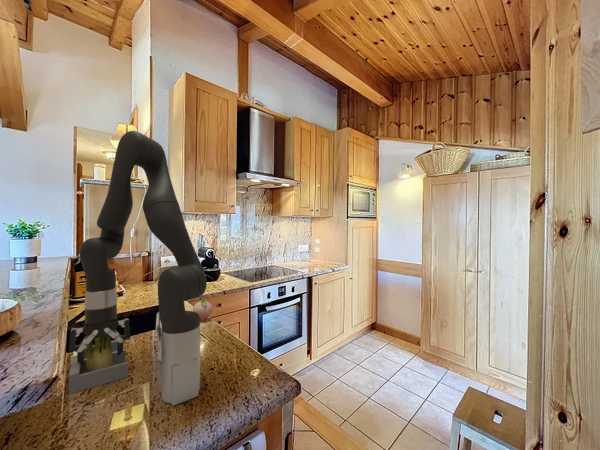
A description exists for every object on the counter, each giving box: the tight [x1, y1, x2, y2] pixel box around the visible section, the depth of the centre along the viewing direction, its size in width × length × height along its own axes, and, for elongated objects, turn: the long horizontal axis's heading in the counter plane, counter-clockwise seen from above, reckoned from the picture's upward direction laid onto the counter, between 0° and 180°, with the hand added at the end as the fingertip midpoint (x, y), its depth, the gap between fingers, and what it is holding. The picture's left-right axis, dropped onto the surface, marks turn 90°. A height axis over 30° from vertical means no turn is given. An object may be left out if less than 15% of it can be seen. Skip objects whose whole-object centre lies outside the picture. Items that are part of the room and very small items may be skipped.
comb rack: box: [68, 339, 129, 395], centre depth 80 cm, size 21×13×5 cm, turn 38°
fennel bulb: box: [86, 336, 113, 372], centre depth 76 cm, size 6×5×12 cm
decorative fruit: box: [192, 299, 213, 321], centre depth 121 cm, size 9×8×10 cm
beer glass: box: [155, 311, 162, 362], centre depth 87 cm, size 7×7×15 cm
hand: (101, 358), depth 76 cm, fingers open, 8 cm apart
